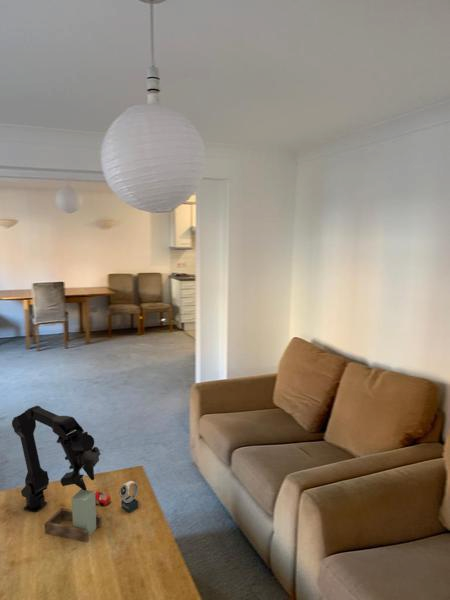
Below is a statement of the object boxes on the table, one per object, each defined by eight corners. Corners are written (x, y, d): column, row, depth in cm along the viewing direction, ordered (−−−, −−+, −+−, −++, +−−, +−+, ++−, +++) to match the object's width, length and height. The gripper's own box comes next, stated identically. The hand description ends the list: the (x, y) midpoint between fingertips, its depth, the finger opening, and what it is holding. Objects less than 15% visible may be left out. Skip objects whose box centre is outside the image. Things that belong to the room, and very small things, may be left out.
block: (73, 535, 160) (71, 497, 158) (82, 525, 166) (81, 489, 164) (87, 538, 158) (85, 500, 156) (96, 528, 164) (95, 491, 162)
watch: (117, 509, 176) (116, 484, 174) (133, 500, 182) (132, 476, 180) (125, 515, 172) (125, 489, 171) (141, 506, 178) (141, 481, 177)
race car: (113, 500, 182) (113, 492, 182) (106, 508, 177) (106, 499, 176) (86, 495, 186) (85, 487, 185) (78, 502, 180) (78, 494, 180)
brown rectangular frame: (45, 533, 161) (44, 523, 160) (61, 517, 171) (61, 507, 170) (87, 542, 156) (86, 532, 156) (101, 525, 166) (101, 515, 165)
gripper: (77, 462, 152) (94, 498, 155) (102, 432, 169) (117, 466, 172) (52, 467, 155) (69, 503, 158) (79, 437, 172) (94, 470, 175)
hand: (89, 484), depth 166 cm, fingers open, 5 cm apart
